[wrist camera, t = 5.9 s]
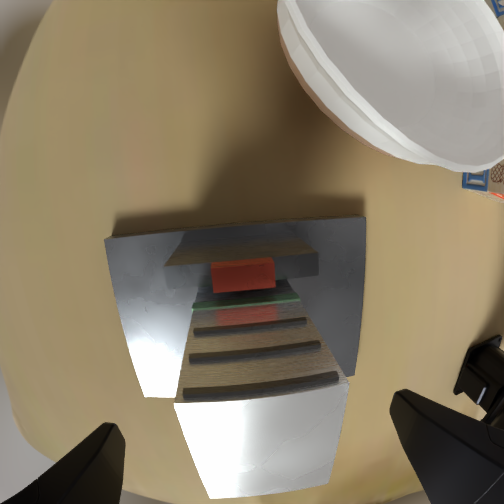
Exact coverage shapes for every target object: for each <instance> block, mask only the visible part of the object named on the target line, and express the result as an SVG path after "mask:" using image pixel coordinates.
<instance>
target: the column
mask: <svg viewBox="0 0 504 504" xmlns="http://www.w3.org/2000/svg"><path fill="white" fill-rule="evenodd" d="M275 285H276V287H273V288H264V289H253V290H243V291H232V292H221V293H213V286H207V287H198V291H197V295H196V300H195V302H193V305H192V317H191V322H190V327H189V331H188V336H187V340H186V345H185V350H184V355H183V360H182V365H181V370H180V375H179V380H178V385H177V390H176V395H175V401H174V405H175V408H176V411H177V414H178V417H179V420H180V423H181V426H182V429H183V432H184V435H185V438H186V440H187V443H188V446H189V448H190V451H191V454H192V456H193V459H194V461H195V464H196V466H197V469H198V471H199V474H200V476H201V478H202V481H203V483H204V485H205V488H206V490H207V492H208V494H209V497H210V498H232V497H247V496H258V495H267V494H274V493H281V492H288V491H294V490H299V489H305V488H310V487H314V486H319V485H323V484H328V482H329V478H330V475H331V471H332V467H333V463H334V459H335V455H336V450H337V446H338V442H339V437H340V432H341V427H342V422H343V417H344V412H345V406H346V401H347V395H348V389H349V382H348V380H347V378H346V376H345V375H344V373H343V371H342V370H341V368H340V366H339V365H338V363H337V361H336V360H335V358H334V356H333V355H332V353H331V351H330V350H329V348H328V346H327V345H326V343H325V341H324V340H323V338H322V337H321V335H320V333H319V332H318V330H317V328H316V327H315V325H314V323H313V322H312V320H311V318H310V317H309V315H308V313H307V312H306V310H305V309H304V307H303V305H302V304H301V302H300V297H299V295H298V294H297V293H295V292H294V291H293V289H292V287H291V286H290V284H289V283H288V281H287V279H282V280H275Z"/></svg>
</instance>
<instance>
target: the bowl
mask: <svg viewBox="0 0 504 504" xmlns="http://www.w3.org/2000/svg"><path fill="white" fill-rule="evenodd" d="M277 14H278V15H277V25H278V31H279V37H280V44H281V46H282V49H283V51H284V54H285V56H286V59H287V62H288V64H289V66H290V68H291V70H292V71H293V73H294V75H295V76H296V78H297V80H298V81H299V83H300V85H301V86H302V88H303V89H304V91H305V92H306V93H307V94H308V95H309V96H310V98H311V99H312V100H313V101H314V103H315V104H316V105H317V106H318V107H319V109H320V110H321V111H322V112H323V113H324V114H326V115H327V116H328V117H329V118H330V119H331V120H332V121H333V122H334V123H335V124H336V125H337V126H339V127H340V128H341V129H342V130H343V131H345V132H346V133H348V134H349V135H351V136H352V137H354V138H355V139H356V140H358V141H359V142H361V143H362V144H364V145H366V146H368V147H370V148H372V149H374V150H376V151H378V152H381V153H383V154H385V155H388V156H392V157H396V158H399V159H403V160H407V161H411V162H414V163H418V164H431V165H438V166H441V167H444V168H447V169H449V170H452V171H455V172H470V173H476V172H479V171H483V170H487V169H490V168H492V167H493V166H495V165H496V164H497V163H499V162H500V161H502V160H503V159H504V30H503V29H502V27H501V25H500V23H499V22H498V20H497V18H496V17H495V15H494V13H493V12H492V10H491V9H490V7H489V6H488V5H487V3H486V2H485V1H484V0H278V5H277Z"/></svg>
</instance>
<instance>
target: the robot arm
mask: <svg viewBox="0 0 504 504" xmlns="http://www.w3.org/2000/svg"><path fill="white" fill-rule="evenodd" d="M501 340H502V336H501V335H497V336H495V337H493V338H491V339H489V340H487V341H485V342H483V343H481V344H478V345H476V346H474V347H472V348H470V349H469V350H468V352H467V355H466V358H465V362H464V364H463V367H462V370H461V373H460V376H459V379H458V381H457V384H456V386H455V389H454V392H453V393H454V394H455V395H458V394H460V393H462V392H464V393H465V394H466V395H467V396H468V397H469V398H470V399H471V400H472V401H473V402H474V403H475V404H476V405H478V404H479V405H480V406H481V407H482V408H483V409H484V410H485V411H486V412H487V414H486V415H485V416H484V418H483V419H481V421H478V420H476V419H474V418H471V417H469V416H466V415H464V414H462V413H459V412H457V411H455V410H452V409H450V408H448V407H445V406H443V405H441V404H439V403H436V402H434V401H432V400H430V399H428V398H425V397H423V396H421V395H419V394H417V393H415V392H412V391H410V390H408V389H402V390H399V391H396V392H395V393H394V395H393V399H392V402H391V406H390V415H391V418H392V421H393V423H394V426H395V428H396V431H397V434H398V436H399V439H400V442H401V444H402V447H403V449H404V451H405V453H406V455H407V457H408V459H409V461H410V463H411V465H412V467H413V468H414V470H415V472H416V474H417V476H418V478H419V480H420V482H421V484H422V486H423V488H424V490H425V492H426V494H427V496H428V498H429V500H430V502H431V504H504V351H503V350H501V349H500V348H499V346H500V343H501ZM124 458H125V439H124V437H123V435H122V433H121V431H120V430H119V428H118V426H117V425H116V424H115V423H108V422H105V423H103V424H101V425H100V426H99V427H98V428H97V429H96V430H94V431H93V432H92V433H91V434H90V435H89V436H87V437H86V438H85V439H84V440H83V441H82V442H80V443H79V444H78V445H77V446H76V447H75V448H73V449H72V450H71V451H70V452H69V453H67V454H66V455H65V456H64V457H63V458H61V459H60V460H59V461H58V462H57V463H55V464H54V465H53V466H52V467H51V468H49V469H48V470H47V471H46V472H44V473H43V474H42V475H41V476H40V477H38V479H36V480H34V481H33V482H32V483H31V484H30V485H28V486H27V487H25V488H24V489H23V490H22V491H20V492H18V493H17V494H15V495H14V496H12V497H11V498H9V499H7V500H6V501H4V502H2V503H0V504H119V502H120V495H121V490H122V484H123V473H124Z"/></svg>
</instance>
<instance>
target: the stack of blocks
mask: <svg viewBox="0 0 504 504" xmlns="http://www.w3.org/2000/svg"><path fill="white" fill-rule="evenodd" d="M484 1H485V2H486V3H487V5H488V6H489V7H490V9H491V10H492V12H493V13H494V15H495V17H496V18H497V20H498V22H499V23H500V25H501V27H502V29H503V30H504V0H484ZM462 188H463V189H465V190H468V191H471V192H474V193H476V194H479V195H482V196H484V197H486V198H488V199H491V200H494V201H497V202H501V203H504V159H503V160H502V161H500V162H499V163H497V164H496V165H495V166H493V167H492V168H490V169H487V170H483V171H479V172H476V173H470V172H463V183H462Z"/></svg>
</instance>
